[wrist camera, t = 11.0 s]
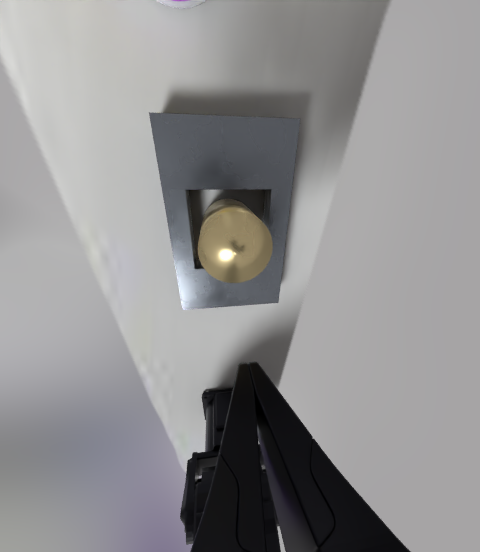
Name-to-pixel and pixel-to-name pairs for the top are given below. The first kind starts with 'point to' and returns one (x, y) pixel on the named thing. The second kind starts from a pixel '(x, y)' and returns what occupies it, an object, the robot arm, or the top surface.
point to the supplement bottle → (181, 3)
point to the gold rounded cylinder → (233, 242)
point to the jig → (225, 175)
